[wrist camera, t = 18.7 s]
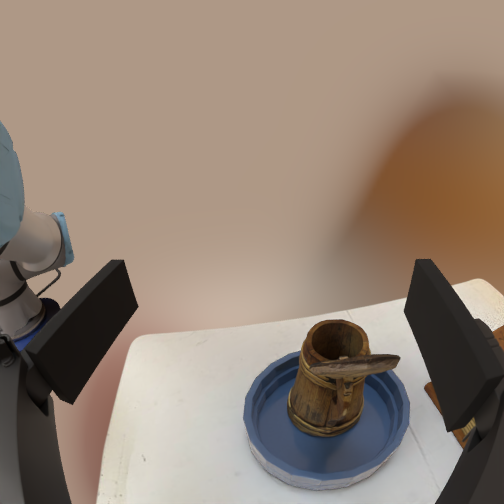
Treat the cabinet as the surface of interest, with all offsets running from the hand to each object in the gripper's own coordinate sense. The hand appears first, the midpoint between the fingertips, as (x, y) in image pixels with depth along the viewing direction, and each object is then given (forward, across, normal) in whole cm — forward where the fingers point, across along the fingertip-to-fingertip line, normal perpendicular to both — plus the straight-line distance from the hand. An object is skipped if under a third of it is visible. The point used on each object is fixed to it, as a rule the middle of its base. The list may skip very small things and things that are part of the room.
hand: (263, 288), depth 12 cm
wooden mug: (+7, +5, -23) cm, 24 cm away
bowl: (+7, +5, -24) cm, 25 cm away
